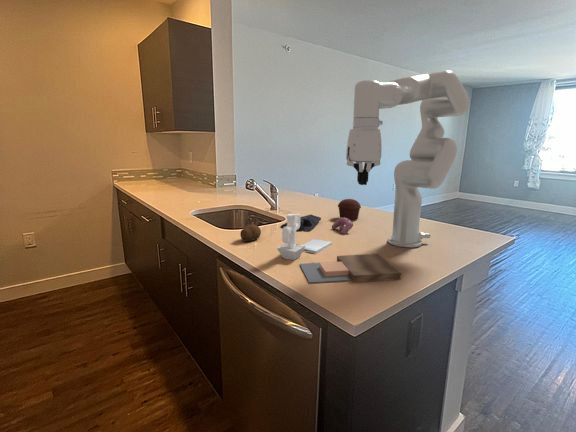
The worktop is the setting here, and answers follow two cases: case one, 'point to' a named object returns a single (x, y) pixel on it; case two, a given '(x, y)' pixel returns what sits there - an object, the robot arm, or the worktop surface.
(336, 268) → the tile
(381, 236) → the worktop surface
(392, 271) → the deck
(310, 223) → the dark slate chunk
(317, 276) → the mat
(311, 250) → the hard drive
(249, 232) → the potato
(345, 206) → the muffin
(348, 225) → the purple crystal rock
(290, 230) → the figurine
